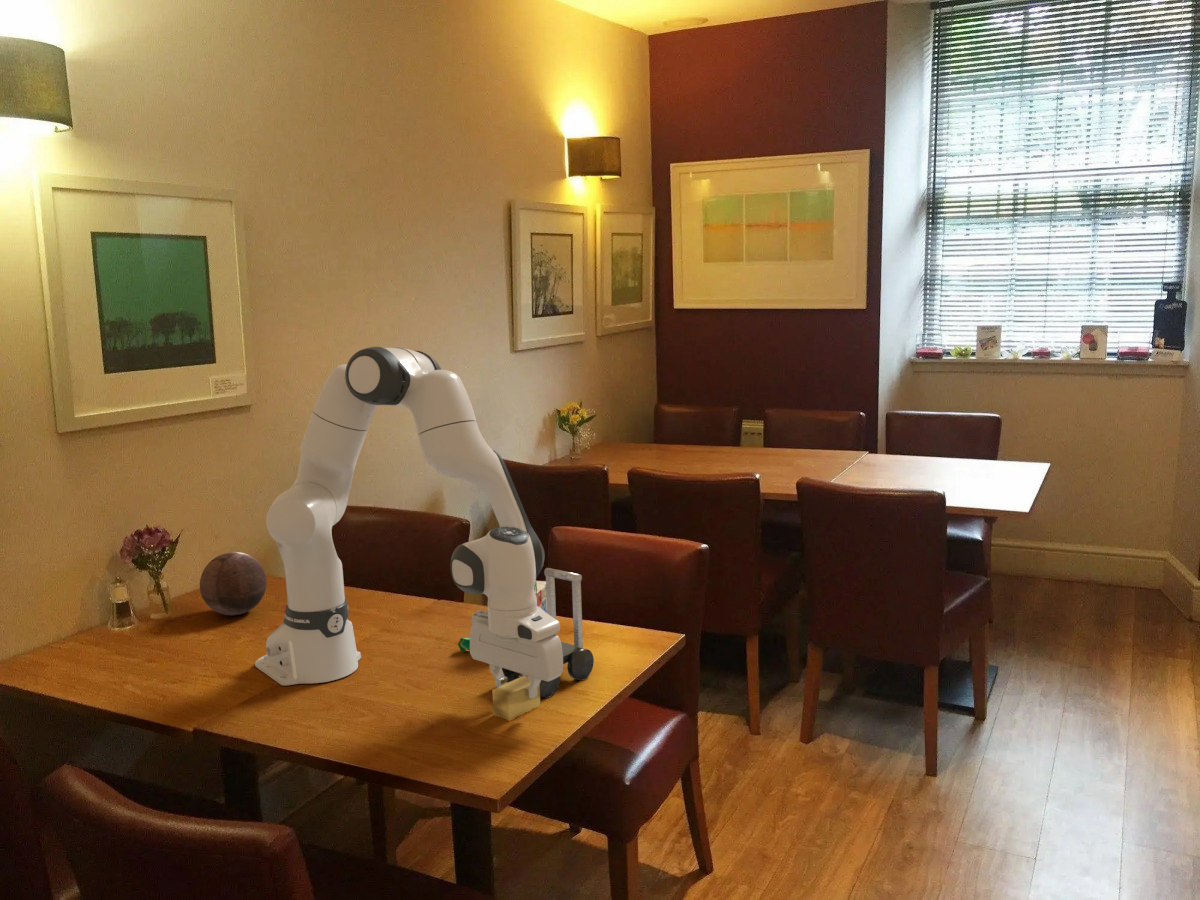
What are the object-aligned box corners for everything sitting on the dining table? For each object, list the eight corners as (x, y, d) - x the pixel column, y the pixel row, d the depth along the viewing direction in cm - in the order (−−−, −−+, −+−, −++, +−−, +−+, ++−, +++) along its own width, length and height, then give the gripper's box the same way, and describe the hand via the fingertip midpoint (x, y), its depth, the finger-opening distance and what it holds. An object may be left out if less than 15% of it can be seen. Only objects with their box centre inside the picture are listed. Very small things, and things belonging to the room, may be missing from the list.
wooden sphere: (281, 605, 247) (275, 545, 244) (246, 625, 232) (240, 563, 230) (226, 602, 250) (221, 544, 247) (189, 622, 236) (183, 560, 233)
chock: (493, 716, 180) (492, 689, 179) (524, 701, 186) (523, 675, 185) (509, 721, 178) (508, 695, 177) (540, 706, 184) (539, 680, 183)
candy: (488, 629, 222) (496, 616, 221) (499, 640, 221) (507, 626, 220) (455, 648, 212) (463, 634, 210) (466, 658, 211) (474, 644, 209)
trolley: (550, 661, 204) (546, 564, 201) (594, 674, 197) (590, 573, 194) (494, 687, 192) (489, 584, 189) (539, 702, 185) (534, 595, 182)
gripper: (459, 612, 183) (463, 684, 185) (543, 634, 170) (546, 711, 172) (484, 603, 188) (488, 673, 190) (567, 624, 175) (570, 699, 177)
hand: (516, 691), depth 181 cm, fingers open, 6 cm apart
